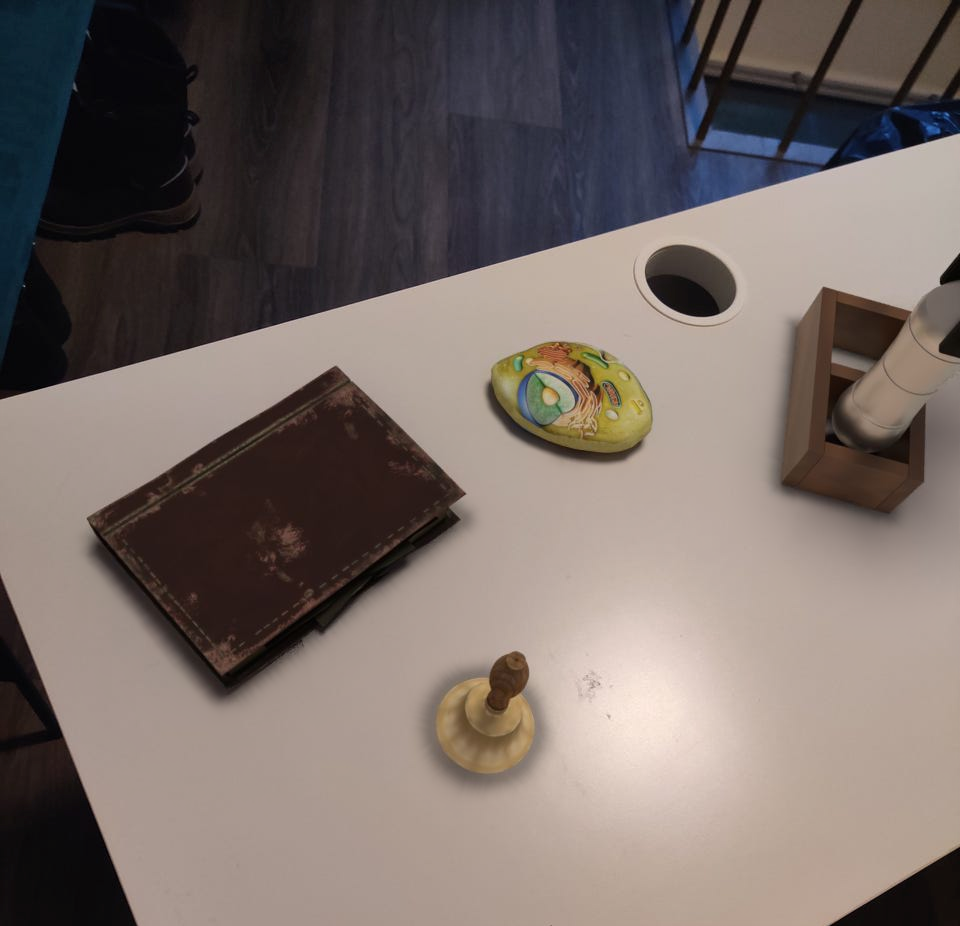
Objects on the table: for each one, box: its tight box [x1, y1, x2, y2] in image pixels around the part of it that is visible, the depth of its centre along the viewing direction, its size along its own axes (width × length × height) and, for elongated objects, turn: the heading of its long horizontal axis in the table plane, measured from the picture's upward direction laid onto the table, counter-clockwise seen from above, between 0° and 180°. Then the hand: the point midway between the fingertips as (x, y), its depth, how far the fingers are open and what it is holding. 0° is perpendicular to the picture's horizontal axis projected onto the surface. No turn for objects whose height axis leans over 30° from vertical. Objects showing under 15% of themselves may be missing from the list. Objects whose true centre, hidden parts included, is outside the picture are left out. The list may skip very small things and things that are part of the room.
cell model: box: [490, 340, 654, 454], centre depth 79 cm, size 11×8×15 cm
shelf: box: [780, 286, 927, 514], centre depth 83 cm, size 11×20×6 cm, turn 167°
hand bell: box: [435, 650, 535, 774], centre depth 61 cm, size 8×8×16 cm
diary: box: [86, 365, 467, 691], centre depth 71 cm, size 19×25×5 cm
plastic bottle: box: [831, 280, 960, 454], centre depth 71 cm, size 6×7×20 cm
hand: (957, 319), depth 67 cm, fingers closed on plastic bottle, 6 cm apart
